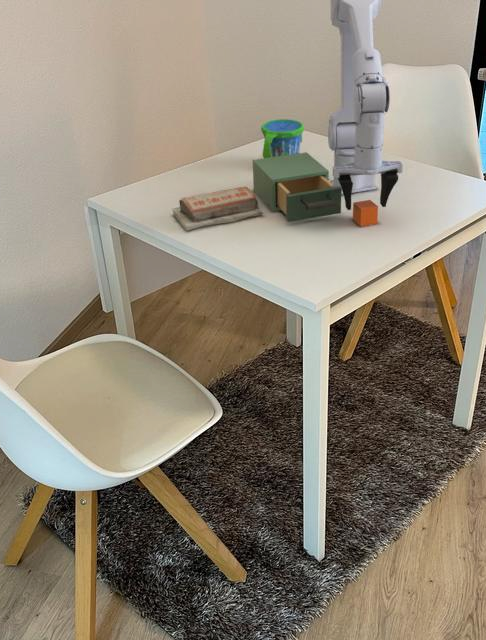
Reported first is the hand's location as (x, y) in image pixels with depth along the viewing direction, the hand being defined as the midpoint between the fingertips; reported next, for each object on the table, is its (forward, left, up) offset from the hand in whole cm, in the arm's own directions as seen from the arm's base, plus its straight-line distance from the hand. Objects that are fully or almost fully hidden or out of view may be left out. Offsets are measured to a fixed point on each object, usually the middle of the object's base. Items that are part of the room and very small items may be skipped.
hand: (365, 206), depth 156 cm
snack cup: (+4, -41, -4) cm, 41 cm away
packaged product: (+29, -16, -4) cm, 33 cm away
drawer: (+10, -8, -3) cm, 13 cm away
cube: (0, 0, -3) cm, 3 cm away
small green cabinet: (+10, -20, -3) cm, 22 cm away
